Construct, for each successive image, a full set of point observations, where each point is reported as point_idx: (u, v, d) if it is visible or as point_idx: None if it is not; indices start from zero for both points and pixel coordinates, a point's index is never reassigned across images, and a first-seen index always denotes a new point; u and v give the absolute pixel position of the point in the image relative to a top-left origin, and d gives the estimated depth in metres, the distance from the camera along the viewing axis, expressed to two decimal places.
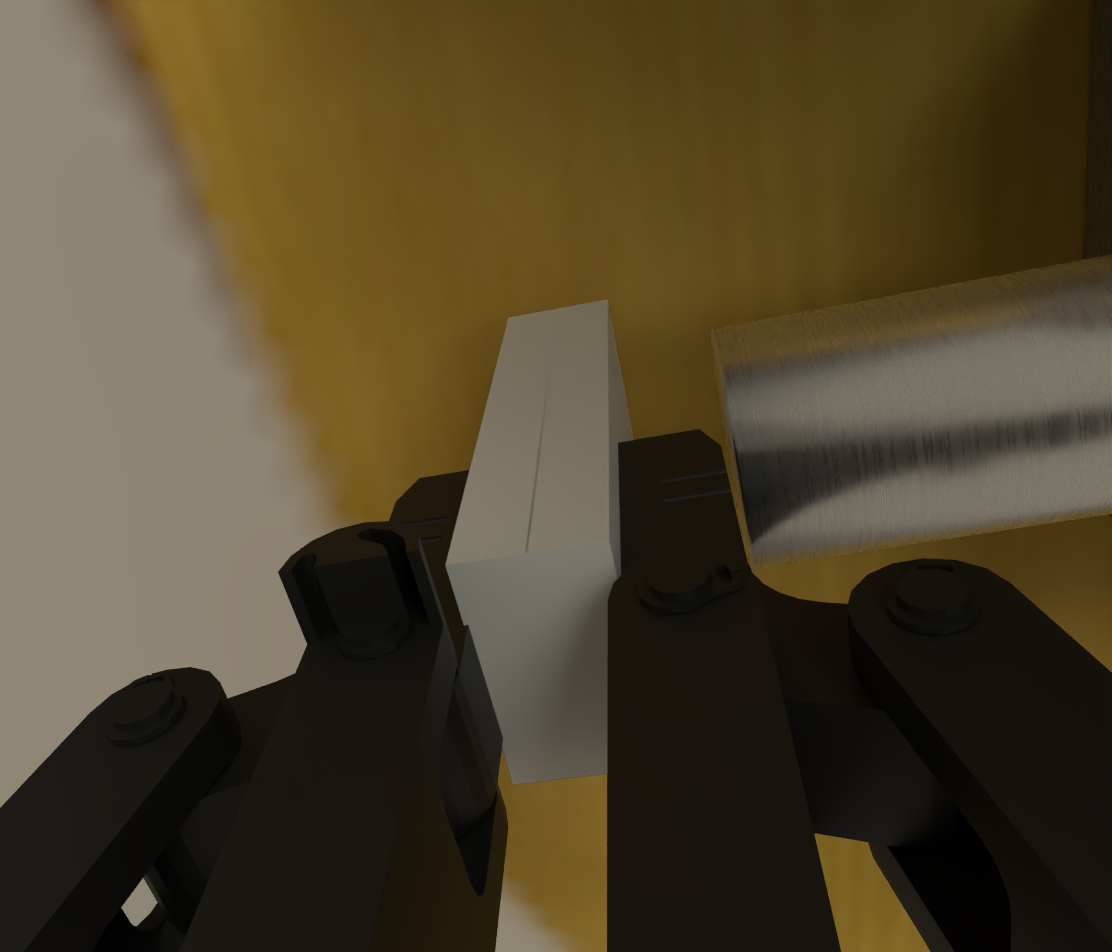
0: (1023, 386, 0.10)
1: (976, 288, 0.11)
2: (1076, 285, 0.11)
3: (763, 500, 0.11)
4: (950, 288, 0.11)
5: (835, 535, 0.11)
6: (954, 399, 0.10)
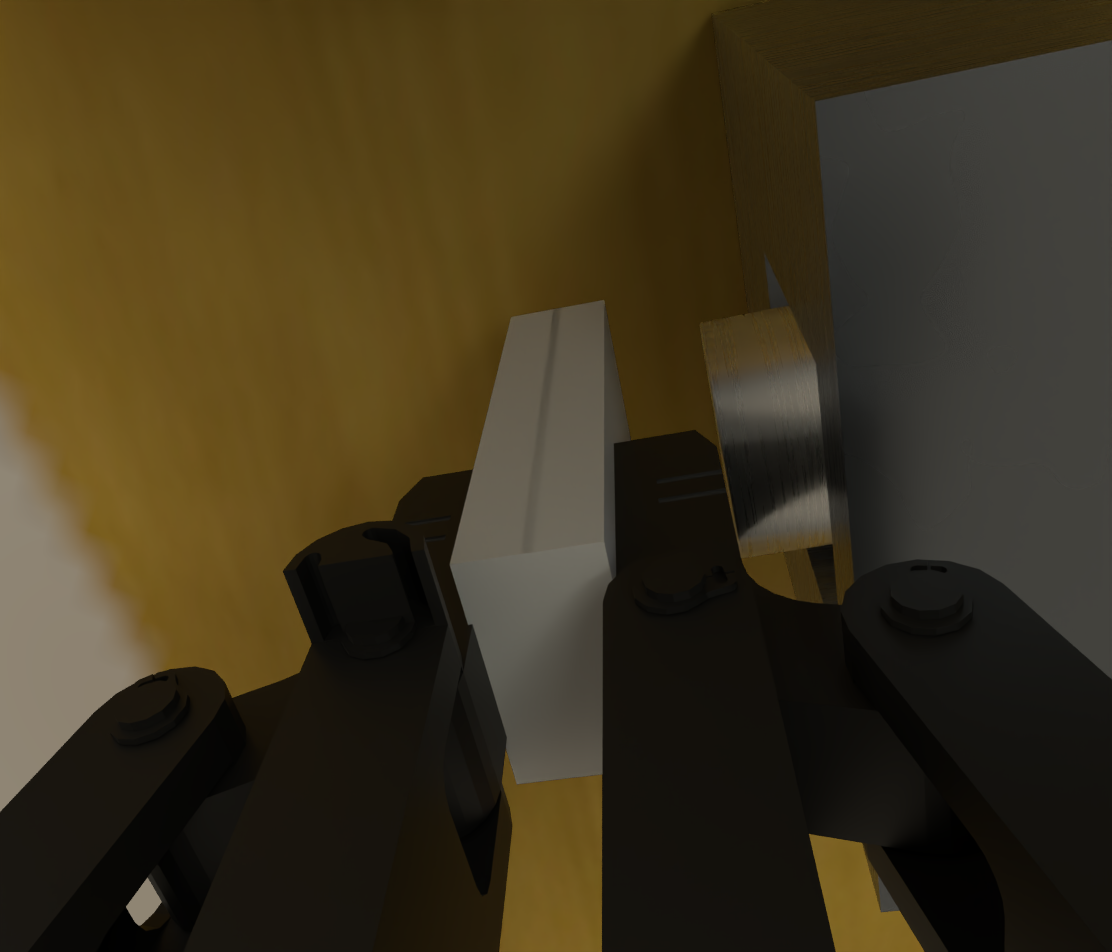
0: None
1: None
2: None
3: (748, 492, 0.11)
4: None
5: (820, 525, 0.11)
6: None
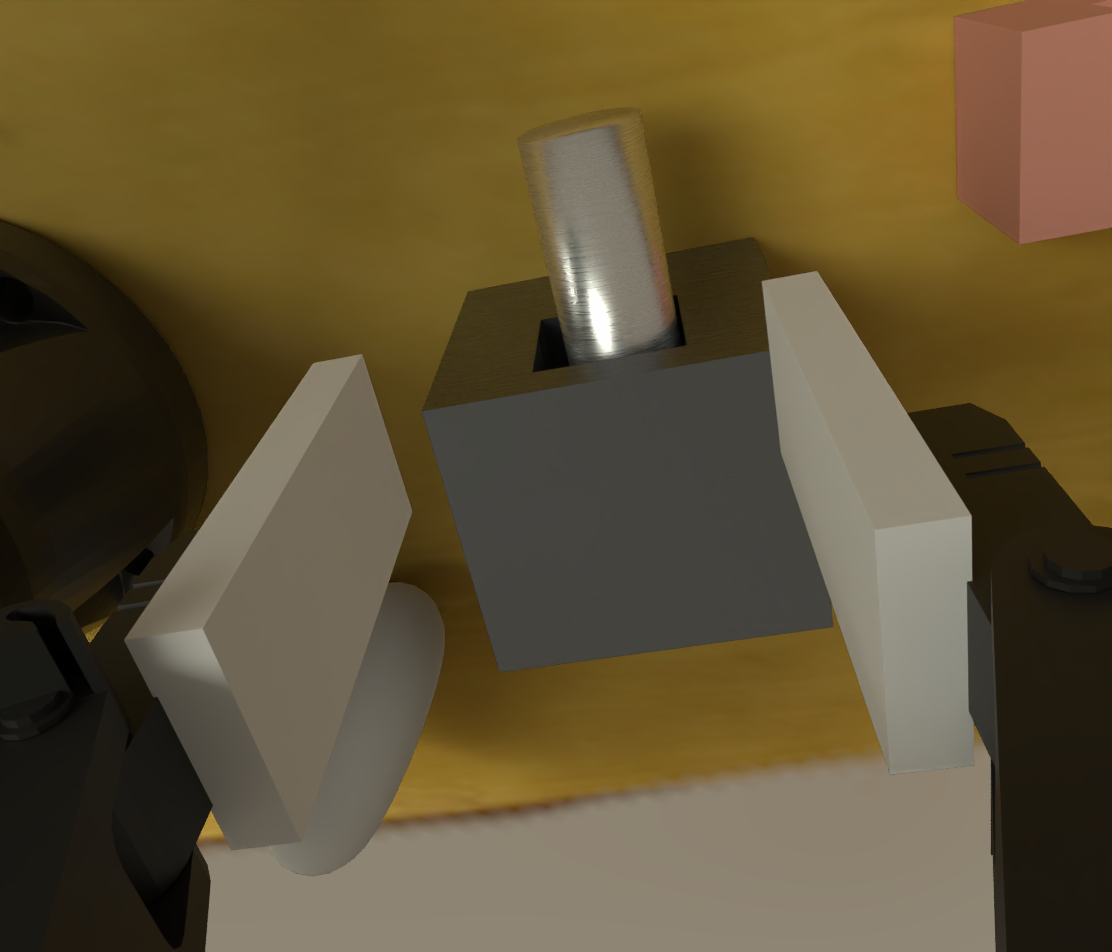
0: None
1: None
2: None
3: None
4: None
5: None
6: None
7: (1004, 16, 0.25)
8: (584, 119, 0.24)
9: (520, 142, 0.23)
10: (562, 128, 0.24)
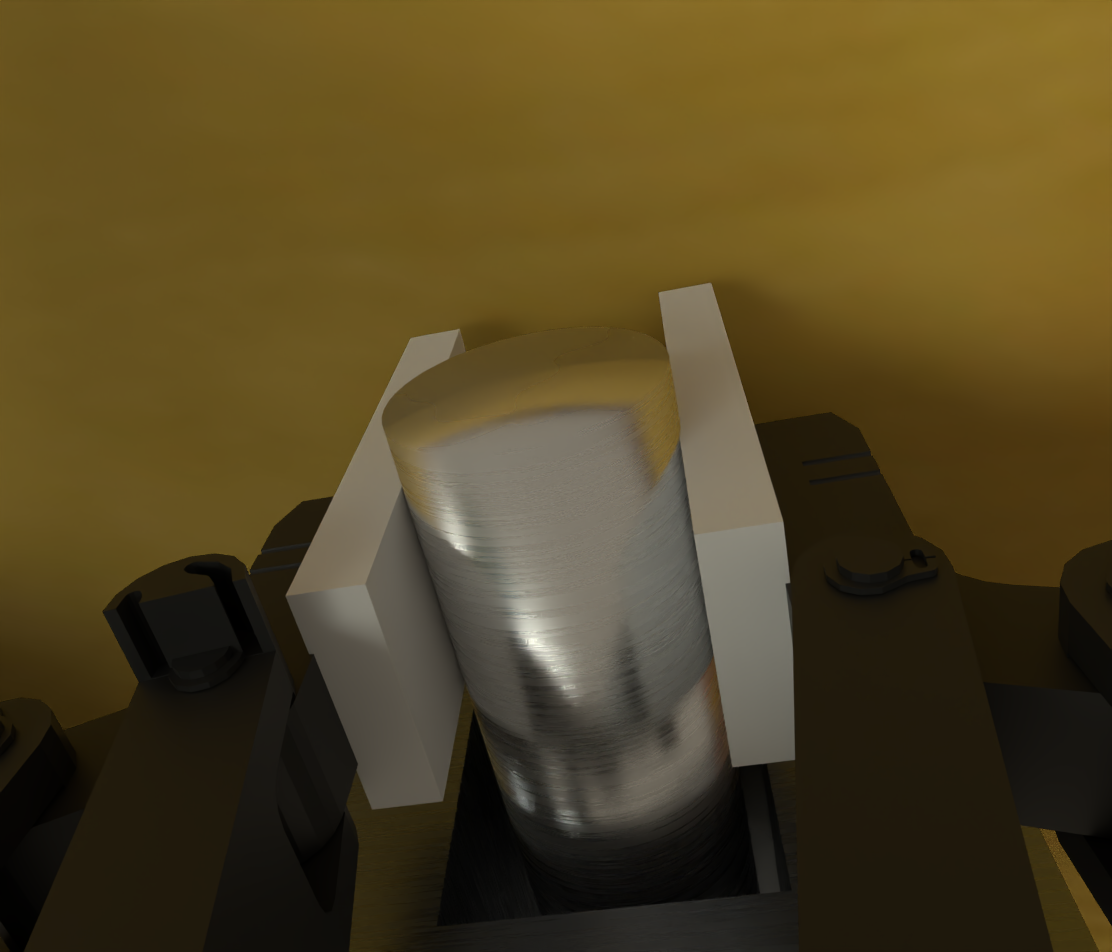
0: None
1: None
2: None
3: None
4: None
5: None
6: None
7: None
8: (544, 360, 0.11)
9: (383, 426, 0.10)
10: (487, 388, 0.10)
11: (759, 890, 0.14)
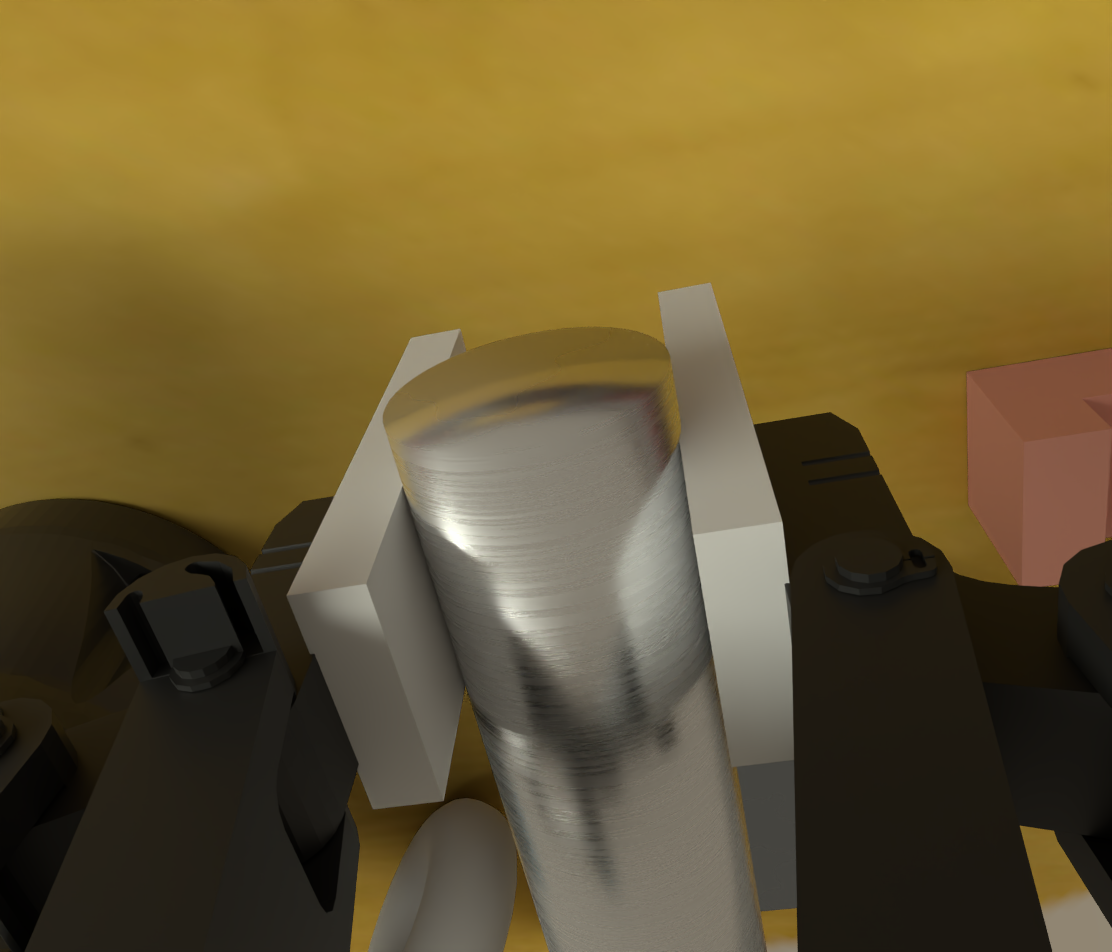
0: None
1: None
2: None
3: None
4: None
5: None
6: None
7: (1009, 393, 0.30)
8: (545, 360, 0.11)
9: (384, 424, 0.10)
10: (489, 388, 0.10)
11: None
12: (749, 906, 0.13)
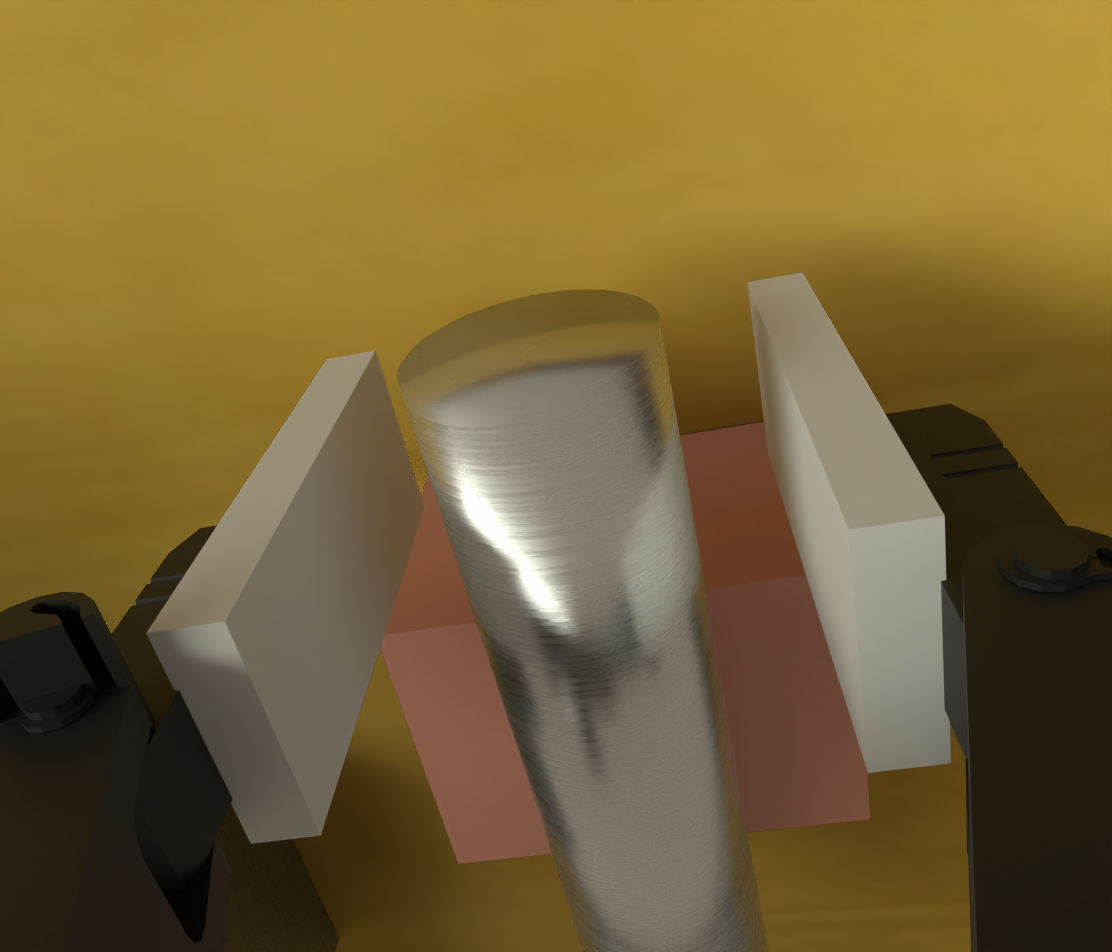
0: None
1: None
2: None
3: None
4: None
5: None
6: None
7: None
8: (544, 321, 0.12)
9: (399, 385, 0.11)
10: (494, 349, 0.11)
11: None
12: (735, 814, 0.14)
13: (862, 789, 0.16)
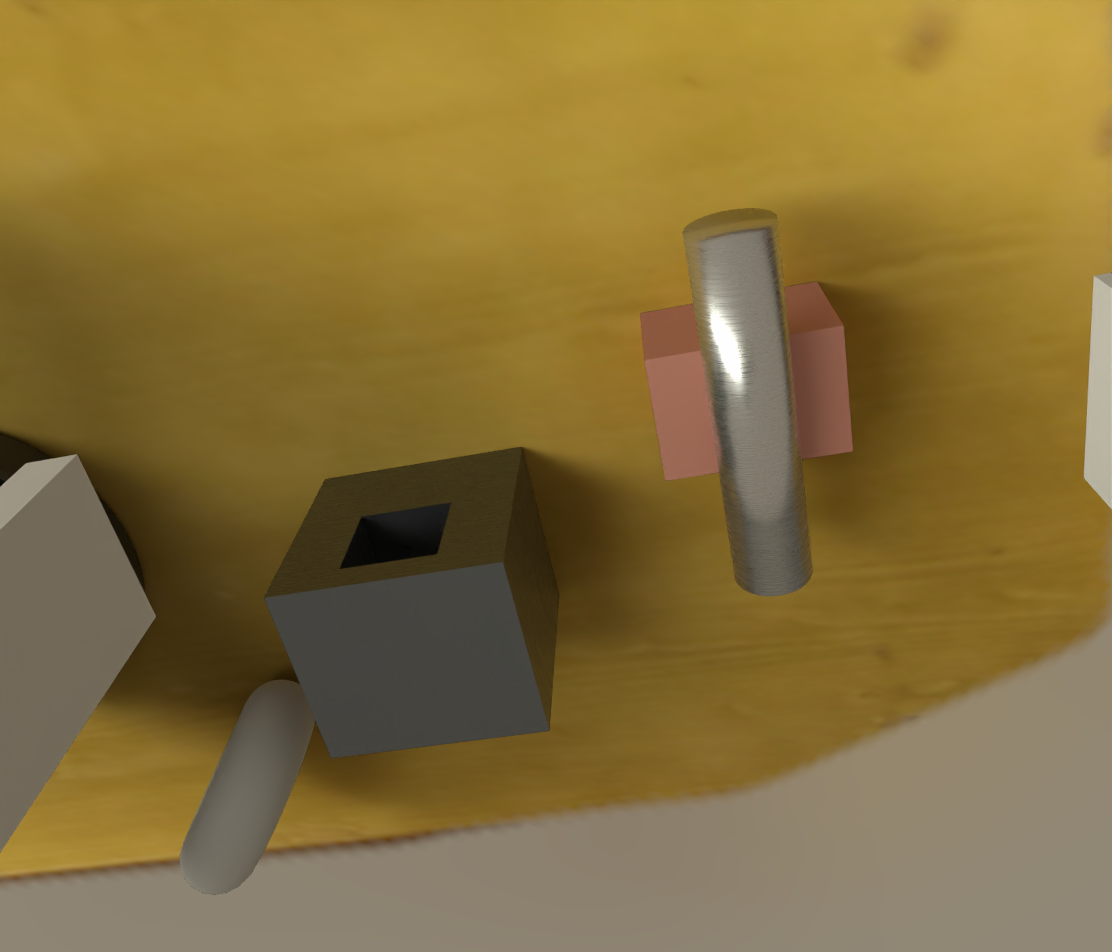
0: (758, 531, 0.36)
1: (727, 521, 0.37)
2: (729, 504, 0.36)
3: (786, 589, 0.37)
4: (727, 523, 0.37)
5: (800, 566, 0.37)
6: (760, 546, 0.36)
7: (658, 327, 0.38)
8: (733, 218, 0.32)
9: (686, 238, 0.31)
10: (717, 227, 0.32)
11: None
12: (796, 427, 0.35)
13: (849, 435, 0.36)
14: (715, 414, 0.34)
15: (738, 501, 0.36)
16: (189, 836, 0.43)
